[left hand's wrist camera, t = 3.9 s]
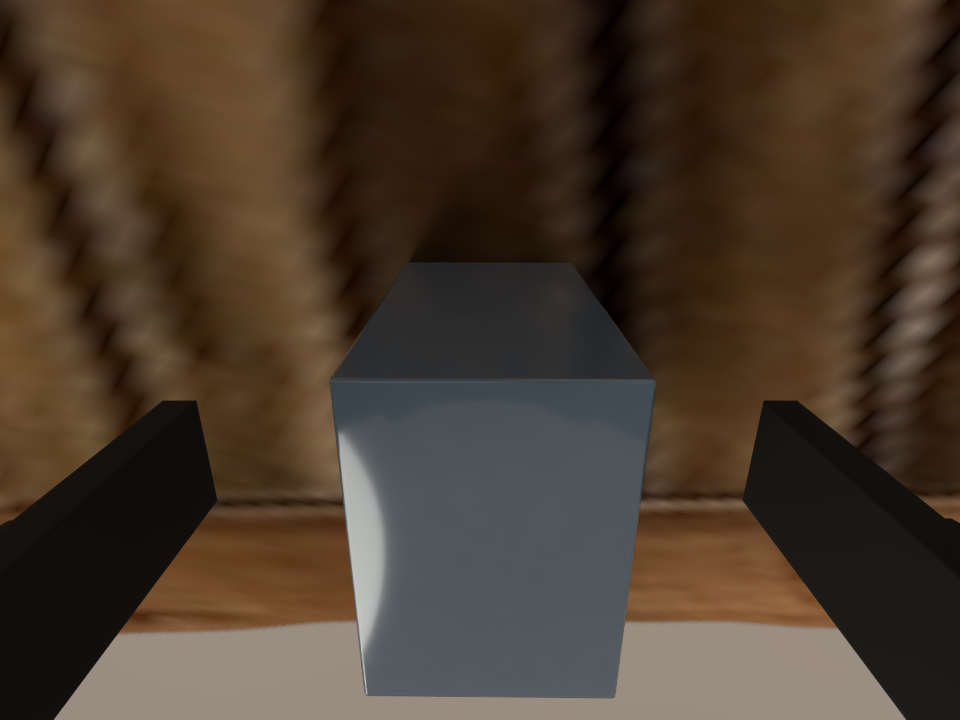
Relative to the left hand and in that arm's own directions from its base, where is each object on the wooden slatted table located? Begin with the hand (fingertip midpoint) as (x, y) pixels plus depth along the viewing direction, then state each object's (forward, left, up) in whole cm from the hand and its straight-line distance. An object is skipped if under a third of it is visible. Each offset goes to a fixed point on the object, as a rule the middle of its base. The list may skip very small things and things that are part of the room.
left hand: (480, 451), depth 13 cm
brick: (0, 0, -5) cm, 5 cm away
